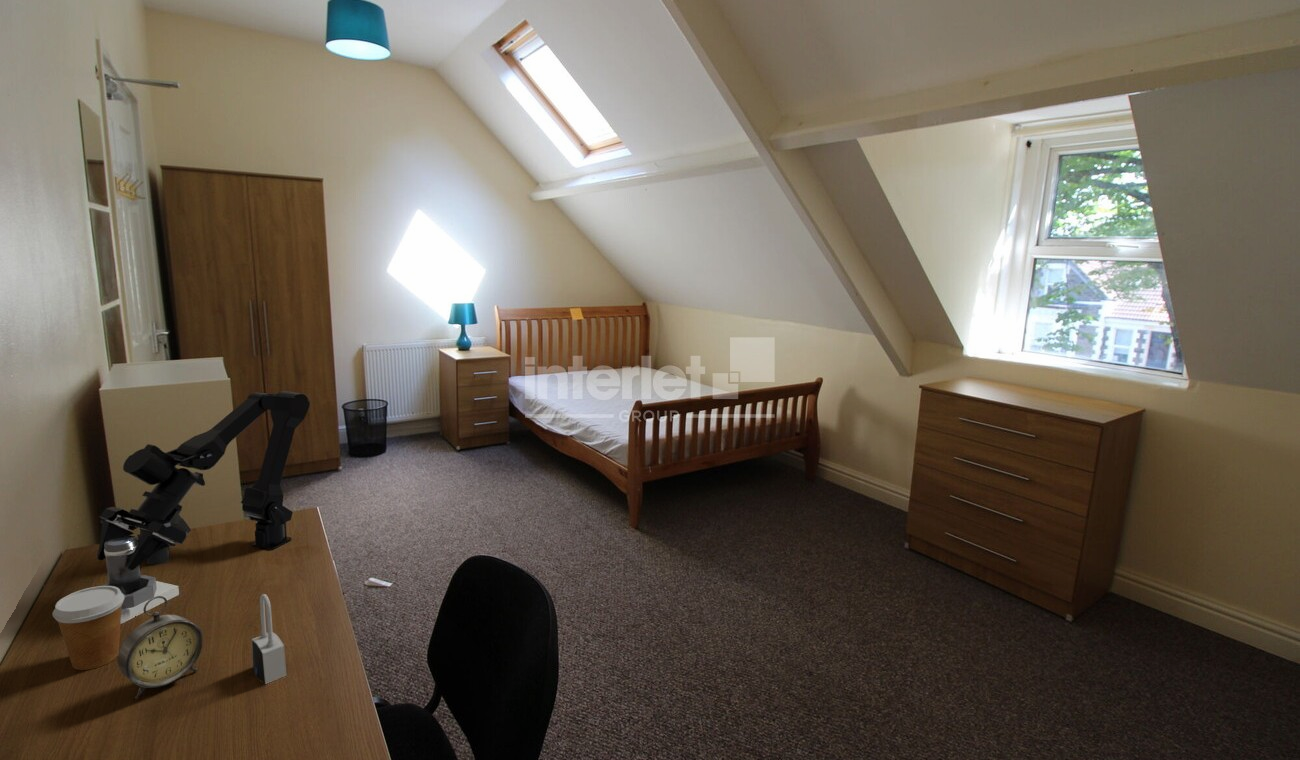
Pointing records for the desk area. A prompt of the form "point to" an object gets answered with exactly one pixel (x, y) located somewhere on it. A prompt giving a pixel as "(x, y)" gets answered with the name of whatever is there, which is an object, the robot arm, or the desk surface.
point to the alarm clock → (160, 650)
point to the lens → (122, 564)
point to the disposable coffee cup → (91, 625)
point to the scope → (157, 557)
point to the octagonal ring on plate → (146, 597)
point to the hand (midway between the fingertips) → (114, 564)
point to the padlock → (268, 649)
